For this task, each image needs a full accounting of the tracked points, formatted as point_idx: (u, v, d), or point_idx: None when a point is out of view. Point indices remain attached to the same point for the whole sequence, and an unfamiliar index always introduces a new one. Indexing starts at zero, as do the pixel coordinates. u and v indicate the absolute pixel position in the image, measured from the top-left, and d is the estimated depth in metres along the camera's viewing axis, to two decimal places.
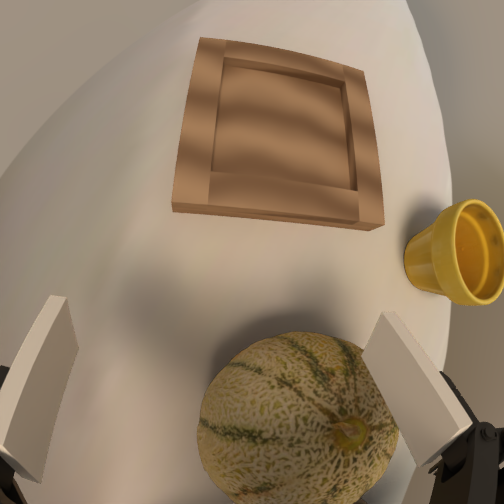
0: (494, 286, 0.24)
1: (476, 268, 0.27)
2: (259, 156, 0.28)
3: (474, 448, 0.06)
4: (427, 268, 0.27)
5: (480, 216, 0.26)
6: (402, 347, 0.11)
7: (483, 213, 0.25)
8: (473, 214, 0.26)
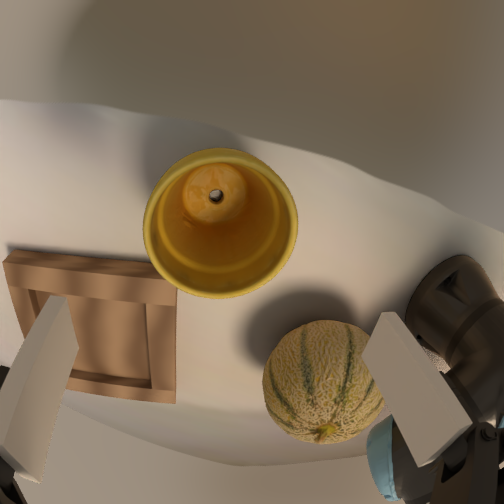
0: (277, 189, 0.20)
1: (239, 166, 0.22)
2: (129, 355, 0.34)
3: (474, 448, 0.06)
4: None
5: None
6: (402, 347, 0.11)
7: (159, 197, 0.19)
8: (160, 198, 0.20)
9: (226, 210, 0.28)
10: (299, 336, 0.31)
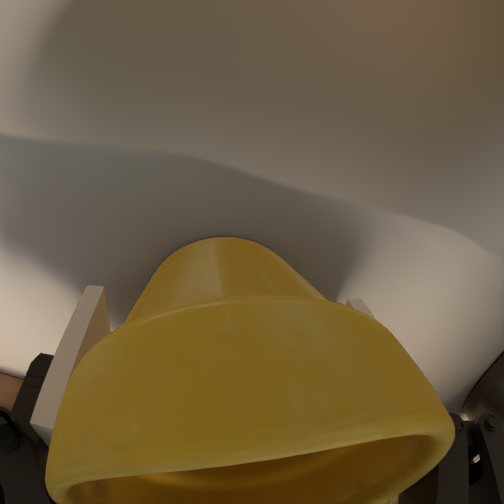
0: None
1: None
2: None
3: None
4: None
5: None
6: None
7: None
8: None
9: None
10: None
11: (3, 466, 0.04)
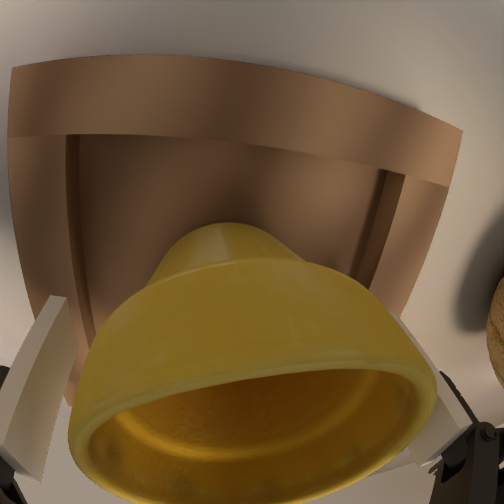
0: None
1: None
2: None
3: (474, 448, 0.06)
4: None
5: None
6: None
7: None
8: None
9: None
10: None
11: None
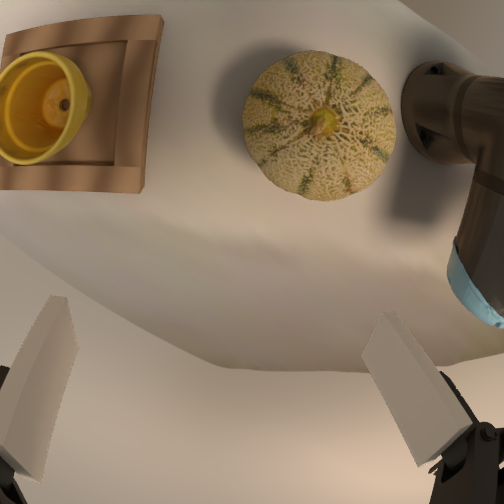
0: None
1: (58, 68, 0.21)
2: (97, 124, 0.29)
3: (474, 448, 0.06)
4: None
5: (3, 91, 0.18)
6: (402, 347, 0.11)
7: None
8: (4, 97, 0.19)
9: None
10: None
11: None
